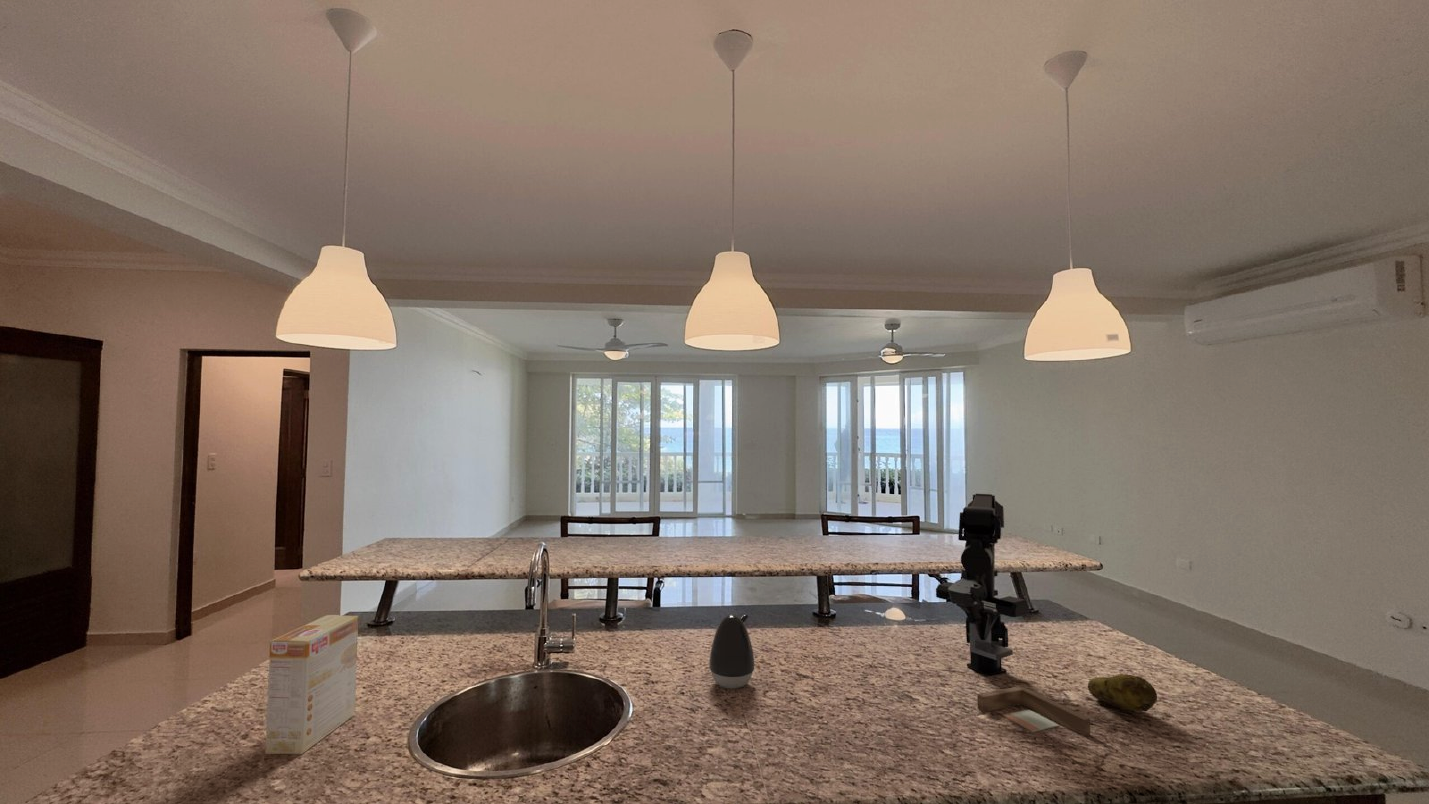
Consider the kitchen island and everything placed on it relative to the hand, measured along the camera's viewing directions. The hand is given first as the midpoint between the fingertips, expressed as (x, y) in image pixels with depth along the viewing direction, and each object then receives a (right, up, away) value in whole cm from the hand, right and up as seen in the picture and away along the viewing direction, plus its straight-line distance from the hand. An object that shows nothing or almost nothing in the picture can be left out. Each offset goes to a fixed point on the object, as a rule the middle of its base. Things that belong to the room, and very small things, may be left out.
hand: (980, 639), depth 129 cm
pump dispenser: (-54, -12, +5) cm, 55 cm away
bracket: (+1, -2, -2) cm, 3 cm away
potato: (+26, -12, -7) cm, 30 cm away
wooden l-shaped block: (+5, -12, -12) cm, 17 cm away
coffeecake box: (-133, -11, -18) cm, 134 cm away
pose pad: (+5, -12, -12) cm, 17 cm away
